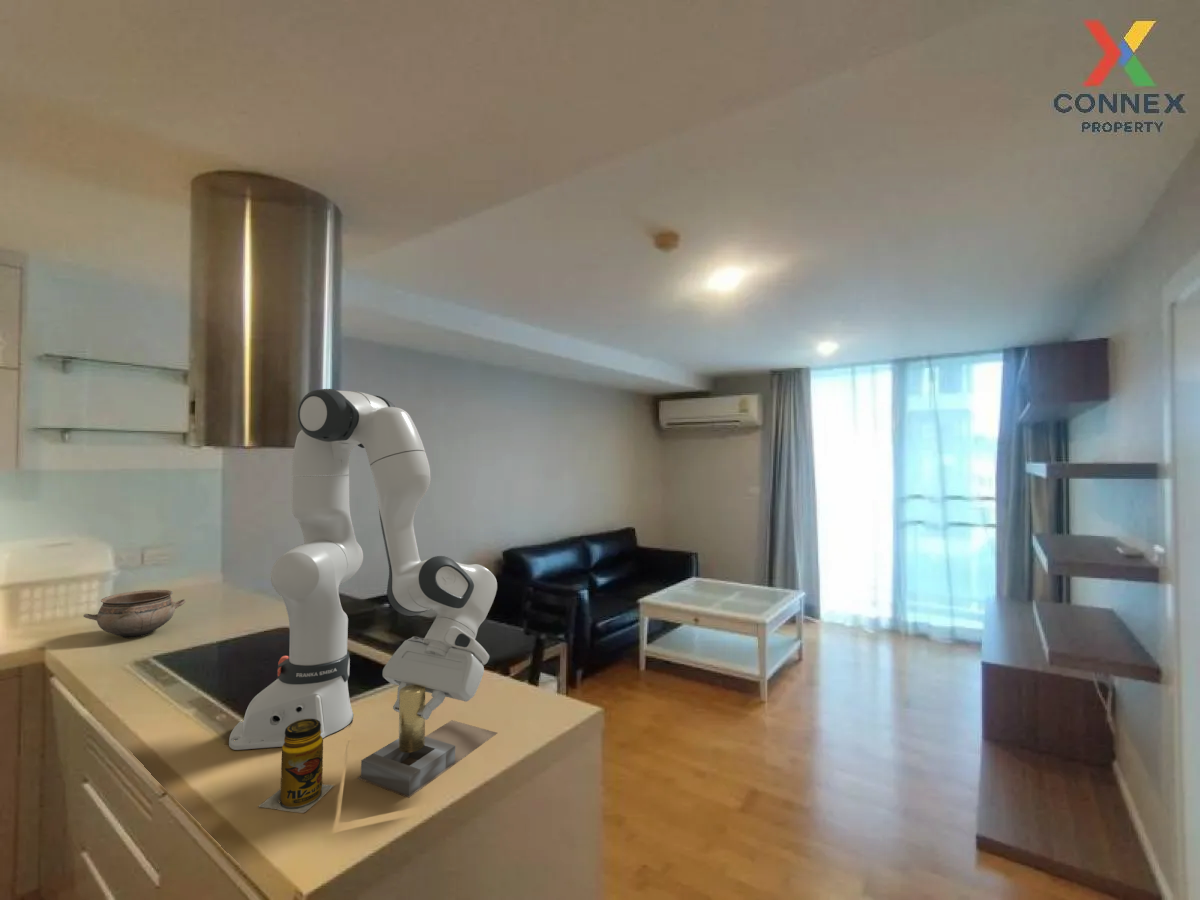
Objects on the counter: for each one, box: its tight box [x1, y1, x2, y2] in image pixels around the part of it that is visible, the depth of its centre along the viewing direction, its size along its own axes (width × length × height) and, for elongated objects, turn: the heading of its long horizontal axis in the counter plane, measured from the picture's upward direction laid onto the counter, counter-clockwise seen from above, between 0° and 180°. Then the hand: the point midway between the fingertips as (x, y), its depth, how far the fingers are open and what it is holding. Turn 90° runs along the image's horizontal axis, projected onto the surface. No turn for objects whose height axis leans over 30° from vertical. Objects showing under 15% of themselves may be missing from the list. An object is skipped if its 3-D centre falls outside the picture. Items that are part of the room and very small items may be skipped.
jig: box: [356, 719, 498, 799], centre depth 101 cm, size 24×12×4 cm, turn 154°
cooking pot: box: [83, 589, 187, 639], centre depth 171 cm, size 25×19×12 cm
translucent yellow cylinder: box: [398, 685, 426, 753], centre depth 96 cm, size 4×4×10 cm
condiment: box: [257, 719, 335, 814], centre depth 89 cm, size 7×8×12 cm
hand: (409, 714), depth 95 cm, fingers closed on translucent yellow cylinder, 4 cm apart
